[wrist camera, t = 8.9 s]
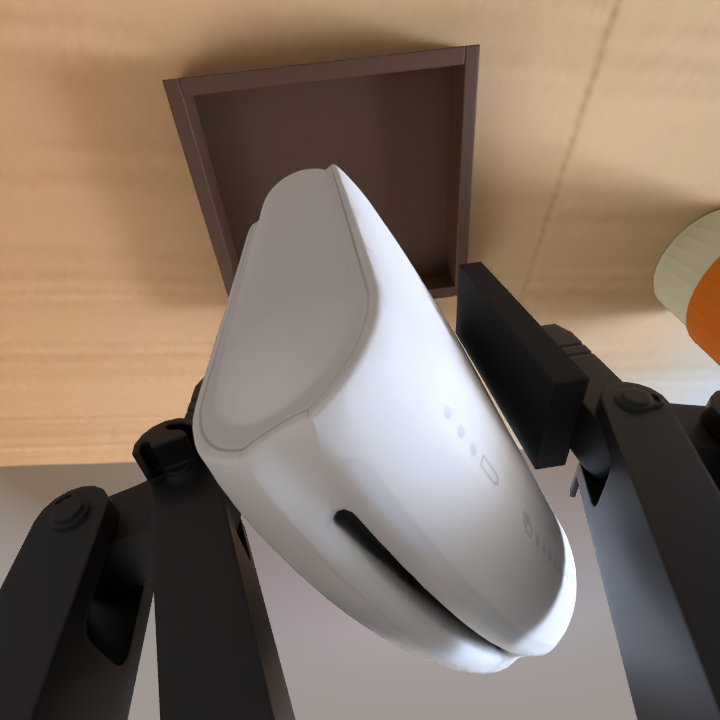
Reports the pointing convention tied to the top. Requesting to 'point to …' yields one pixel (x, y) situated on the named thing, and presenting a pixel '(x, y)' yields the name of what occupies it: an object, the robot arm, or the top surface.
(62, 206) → the top surface
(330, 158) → the tray
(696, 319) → the reusable coffee cup
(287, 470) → the photo printer
